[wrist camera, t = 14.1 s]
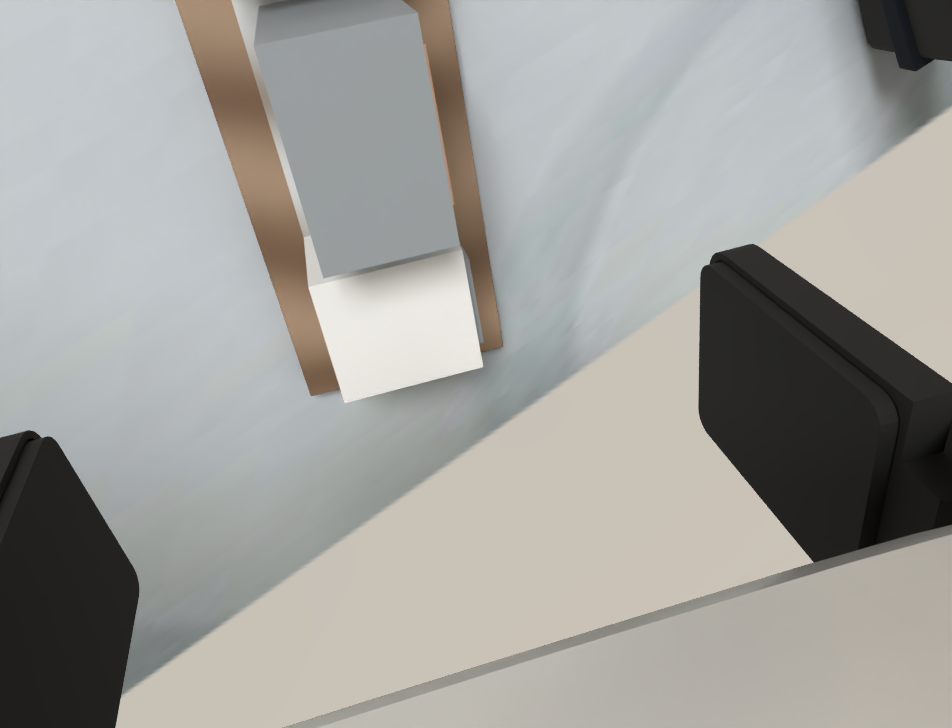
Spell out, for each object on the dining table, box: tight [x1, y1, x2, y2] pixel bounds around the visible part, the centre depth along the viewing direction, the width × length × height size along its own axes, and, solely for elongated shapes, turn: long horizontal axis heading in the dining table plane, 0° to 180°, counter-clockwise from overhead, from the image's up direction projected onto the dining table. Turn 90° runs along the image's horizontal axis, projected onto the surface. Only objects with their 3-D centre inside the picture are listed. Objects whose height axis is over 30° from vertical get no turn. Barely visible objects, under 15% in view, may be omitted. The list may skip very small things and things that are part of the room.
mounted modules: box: [304, 236, 484, 403], centre depth 28 cm, size 22×6×5 cm, turn 10°
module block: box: [254, 0, 460, 279], centre depth 26 cm, size 7×5×9 cm
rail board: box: [175, 0, 503, 396], centre depth 30 cm, size 28×10×2 cm, turn 9°
